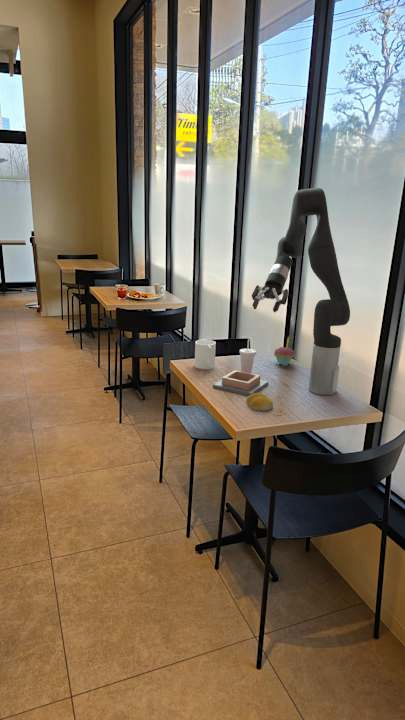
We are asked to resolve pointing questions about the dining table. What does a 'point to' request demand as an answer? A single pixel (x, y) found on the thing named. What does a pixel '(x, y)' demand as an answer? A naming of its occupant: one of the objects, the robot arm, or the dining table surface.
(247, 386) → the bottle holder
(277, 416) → the dining table surface
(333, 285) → the robot arm
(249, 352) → the smoothie
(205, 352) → the cup
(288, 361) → the cupcake
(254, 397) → the bread roll
